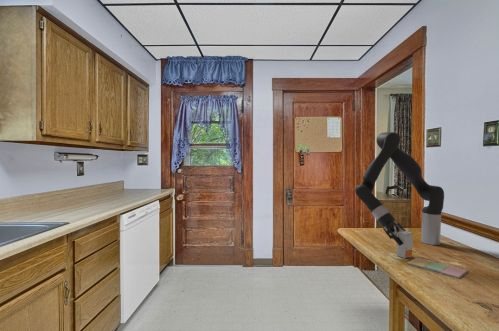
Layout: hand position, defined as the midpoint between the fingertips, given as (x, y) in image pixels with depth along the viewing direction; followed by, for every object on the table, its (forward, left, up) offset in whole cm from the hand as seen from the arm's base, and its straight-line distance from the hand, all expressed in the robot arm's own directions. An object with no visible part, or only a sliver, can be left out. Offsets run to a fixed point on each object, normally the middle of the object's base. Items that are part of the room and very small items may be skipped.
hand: (405, 243), depth 140 cm
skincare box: (0, 0, -7) cm, 7 cm away
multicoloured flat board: (+4, +15, -7) cm, 17 cm away
